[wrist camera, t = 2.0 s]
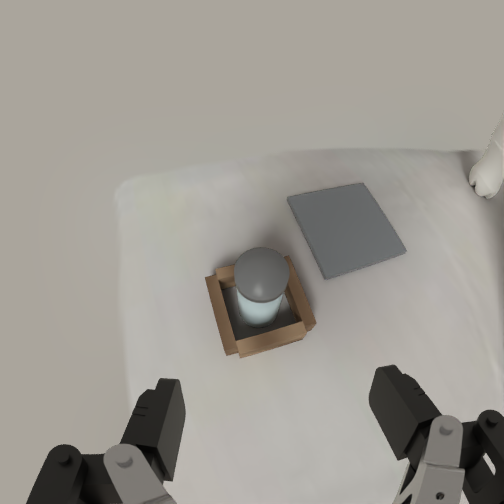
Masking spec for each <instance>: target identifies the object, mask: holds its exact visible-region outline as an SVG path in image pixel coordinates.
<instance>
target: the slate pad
mask: <svg viewBox="0 0 504 504" xmlns="http://www.w3.org/2000/svg"><path fill="white" fill-rule="evenodd" d="M287 201H288V203H289V205H290V207H291V209H292V211H293V213H294V215H295V217H296V219H297V221H298V224H299V226H300V228H301V230H302V232H303V234H304V236H305V238H306V240H307V242H308V244H309V246H310V249H311V251H312V253H313V255H314V257H315V259H316V261H317V264H318V266H319V268H320V270H321V272H322V275H323V277H324V279H325V280H327V279H330V278H333V277H336V276H339V275H343V274H346V273H349V272H352V271H355V270H358V269H361V268H364V267H367V266H370V265H373V264H376V263H379V262H382V261H385V260H387V259H390V258H393V257H396V256H399V255H402V254H404V253H406V251H407V250H406V249H405V247H404V245H403V243H402V242H401V240H400V238H399V237H398V235H397V233H396V232H395V230H394V229H393V227H392V225H391V224H390V222H389V221H388V219H387V217H386V216H385V214H384V213H383V211H382V210H381V208H380V207H379V205H378V204H377V202H376V201H375V199H374V198H373V196H372V195H371V193H370V192H369V190H368V189H367V188H366V186H365V185H364V183H359V184H354V185H348V186H342V187H337V188H331V189H326V190H321V191H315V192H310V193H305V194H300V195H295V196H290V197H287Z"/></svg>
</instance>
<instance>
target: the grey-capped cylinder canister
mask: <svg viewBox="0 0 504 504" xmlns="http://www.w3.org/2000/svg"><path fill="white" fill-rule="evenodd" d="M289 274H290V272H289V266H288V263H287V261H286V260H285V258H284V257H283V256H282V255H281V254H280V253H278V252H277V251H275V250H272V249H269V248H261V247H260V248H253V249H250V250H248V251H246V252H245V253H243V254H242V255H241V256H240V257H239V258H238V260H237V262H236V264H235V267H234V277H235V285H236V287H237V296H238V307H239V314H240V317H241V319H242V320H243V321H244V322H245V323H246V324H247V325H249V326H251V327H254V328H263V327H266V326H268V325H270V324H271V323H272V322H273V321H274V320H275V319H276V317H277V313H278V310H279V307H280V303H281V299H282V296H283V292H284V291H285V289H286V286H287V283H288V279H289Z"/></svg>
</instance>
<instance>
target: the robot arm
mask: <svg viewBox="0 0 504 504" xmlns="http://www.w3.org/2000/svg"><path fill="white" fill-rule="evenodd" d="M369 404H370V407H371V409H372V411H373V413H374V415H375V417H376V419H377V421H378V423H379V425H380V427H381V429H382V431H383V433H384V435H385V436H386V438H387V440H388V442H389V444H390V446H391V448H392V450H393V452H394V454H395V456H396V458H397V460H401V459H404V458H407V457H408V459H409V463H408V464H407V467H406V470H405V473H404V476H403V479H402V481H401V484H400V487H399V490H398V492H397V495H396V497H395V499H394V501H393V503H392V504H459V502H460V497H461V492H462V490H463V492H464V494H465V496H466V498H467V500H468V502H469V504H504V417H503V416H502V415H501V414H500V413H499V412H497V411H494V410H486V411H483V412H482V413H481V414H480V415H479V417H478V419H477V420H476V421H472V422H464V423H461V422H460V421H459V420H458V419H457V418H455V417H453V416H449V415H442V414H441V413H440V412H439V410H438V409H437V408H436V406H435V405H434V404H433V402H432V401H431V400H430V398H429V397H428V396H427V395H426V394H425V392H424V391H423V389H422V388H420V386H419V384H418V383H417V382H416V380H415V379H413V378H412V377H410V376H409V375H407V374H402V373H401V372H400V370H399V369H398V368H397V366H396V365H389V366H384V367H378V368H377V369H376V371H375V375H374V379H373V382H372V386H371V390H370V393H369ZM185 414H186V412H185V404H184V399H183V395H182V390H181V385H180V381H179V379H167V378H160V379H159V381H158V383H157V386H156V389H155V390H151V389H147V390H146V391H145V392H144V393H143V394H142V395H141V396H140V397H139V399H138V401H137V403H136V406H135V408H134V410H133V413H132V415H131V417H130V420H129V423H128V425H127V427H126V430H125V432H124V435H123V437H122V439H121V442H120V444H118V445H115V446H113V447H111V448H109V449H108V450H107V452H106V453H105V454H91V455H89V454H81V453H80V452H79V450H78V449H77V448H75V447H74V446H71V445H66V444H63V445H58V446H56V447H54V448H53V449H52V450H51V451H50V452H49V454H48V456H47V458H46V460H45V462H44V464H43V466H42V468H41V471H40V473H39V475H38V477H37V479H36V482H35V484H34V486H33V488H32V491H31V493H30V495H29V498H28V500H27V503H26V504H177V503H176V502H175V501H174V499H173V498H172V497H171V496H170V495H169V494H168V492H167V491H166V490H165V488H164V487H163V482H164V480H165V481H172V482H173V477H174V472H175V467H176V462H177V457H178V451H179V447H180V442H181V437H182V432H183V427H184V422H185ZM485 453H487V455H488V456H489V458H490V459H491V461H492V463H493V464H494V466H495V469H496V472H495V475H493V473H492V471H491V470H490V468H489V466H488V465H487V463H486V462H485V460H484V458H483V456H484V455H485Z"/></svg>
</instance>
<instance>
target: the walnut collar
mask: <svg viewBox="0 0 504 504" xmlns="http://www.w3.org/2000/svg"><path fill="white" fill-rule="evenodd" d="M284 258H285V260H286V261H287V263H288V266H289V272H290V274H289V279H288V283H287V286H286V289H285V291H284V292H285V295H286V298H287V300H288V303H289V305H290V308H291V311H292V313H293V316H294V319H295V321H296V323H295V324H292V325H289V326H286V327H282V328H279V329H276V330H273V331H269V332H266V333H263V334H259V335H256V336H252V337H249V338H245V339H242V340H238V341H236V340H235V337H234V334H233V330H232V327H231V323H230V320H229V317H228V313H227V310H226V306H225V303H224V299H223V296H222V292H221V290H222V289H226V288H230V287H233V286H236V285H235V277H234V267H235V264H234V265H230V266H226V267H222V268H218V269H215V270H216V275H212V276H208V277H205V280H206V284H207V288H208V292H209V295H210V299H211V303H212V307H213V311H214V315H215V318H216V322H217V326H218V329H219V333H220V336H221V340H222V344H223V347H224V351H225V353H226V355H227V356H228V355H231V354H235V353H239V356H240V358H243V357H247V356H250V355H254V354H257V353H260V352H264V351H267V350H270V349H274V348H277V347H280V346H283V345H286V344H289V343H292V342H296V341H299V340H302V339H303V338H304V336H305V335H306V333H307V331H310V330H312V328H313V327H314V326H315V324H316V320H315V318H314V315H313V313H312V310H311V308H310V305H309V303H308V300H307V298H306V296H305V293H304V291H303V288H302V286H301V283H300V281H299V279H298V276H297V274H296V271H295V269H294V267H293V264H292V262H291V259H290V257H289V256H285V257H284Z"/></svg>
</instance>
